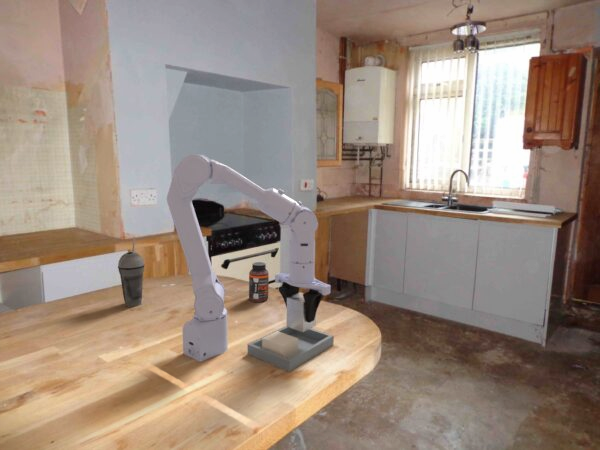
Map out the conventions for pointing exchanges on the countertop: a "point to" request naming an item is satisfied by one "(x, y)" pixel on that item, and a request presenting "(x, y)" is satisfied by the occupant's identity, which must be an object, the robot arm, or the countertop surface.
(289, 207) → the robot arm
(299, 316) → the tin
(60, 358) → the countertop surface
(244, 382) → the countertop surface
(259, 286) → the supplement bottle
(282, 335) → the cream bevelled block
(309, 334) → the tote
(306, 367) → the countertop surface
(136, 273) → the beverage cup
